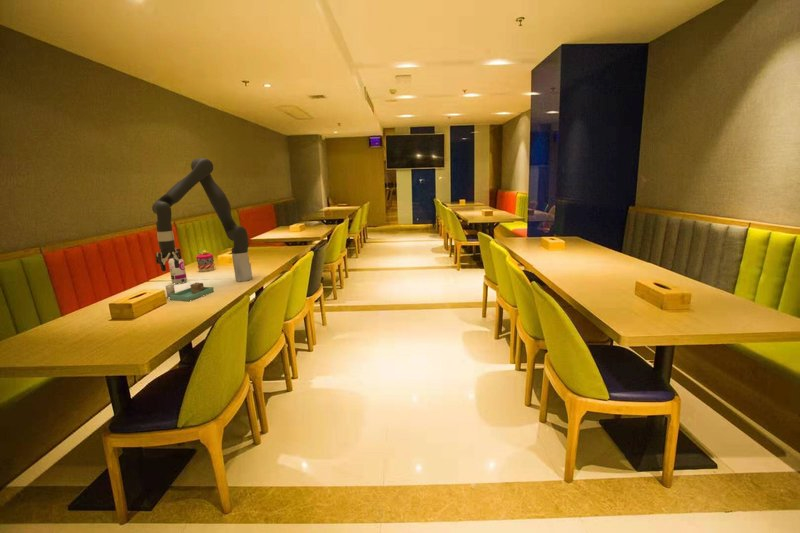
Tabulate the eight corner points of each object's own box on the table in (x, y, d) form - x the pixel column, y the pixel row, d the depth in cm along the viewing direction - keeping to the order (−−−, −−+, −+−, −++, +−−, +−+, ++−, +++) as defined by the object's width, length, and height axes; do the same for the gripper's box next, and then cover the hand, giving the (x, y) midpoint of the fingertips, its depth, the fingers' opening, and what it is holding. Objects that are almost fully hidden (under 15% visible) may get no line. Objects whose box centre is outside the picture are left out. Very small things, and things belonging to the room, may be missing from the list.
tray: (195, 290, 231) (194, 286, 230) (213, 291, 227) (213, 287, 226) (170, 300, 215) (169, 295, 214) (189, 301, 211) (188, 296, 210)
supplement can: (189, 280, 255) (185, 257, 251) (181, 284, 247) (177, 260, 243) (177, 280, 255) (173, 257, 252) (169, 284, 247) (164, 260, 244)
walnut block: (197, 291, 227) (196, 282, 226) (204, 291, 226) (203, 282, 225) (191, 293, 223) (190, 284, 222) (198, 293, 222) (196, 285, 221)
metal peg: (171, 295, 224) (169, 284, 223) (177, 295, 223) (175, 285, 222) (165, 297, 221) (163, 286, 219) (171, 297, 219) (169, 287, 218)
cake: (218, 269, 282) (215, 248, 279) (204, 272, 274) (200, 251, 270) (209, 268, 288) (206, 247, 284) (195, 271, 279) (191, 250, 276)
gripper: (160, 241, 207) (165, 272, 210) (182, 237, 220) (186, 267, 223) (149, 241, 209) (153, 272, 212) (171, 237, 222) (175, 266, 226)
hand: (170, 269), depth 218 cm, fingers open, 8 cm apart
